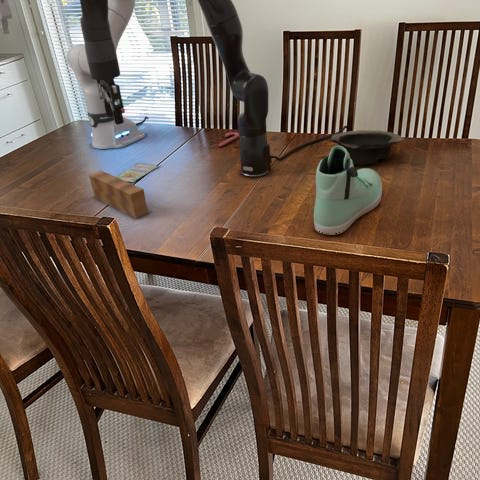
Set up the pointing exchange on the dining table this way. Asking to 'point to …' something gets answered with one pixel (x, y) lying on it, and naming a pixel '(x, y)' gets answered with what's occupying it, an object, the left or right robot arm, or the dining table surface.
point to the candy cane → (235, 136)
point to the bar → (119, 194)
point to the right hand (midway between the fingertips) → (115, 120)
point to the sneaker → (343, 192)
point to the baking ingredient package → (136, 172)
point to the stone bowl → (367, 145)
